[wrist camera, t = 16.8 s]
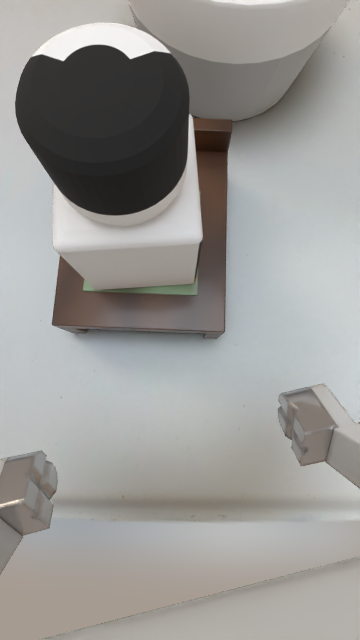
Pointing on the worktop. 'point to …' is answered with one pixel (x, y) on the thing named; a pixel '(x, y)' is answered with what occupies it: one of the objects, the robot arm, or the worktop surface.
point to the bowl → (237, 47)
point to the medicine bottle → (115, 154)
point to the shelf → (172, 300)
